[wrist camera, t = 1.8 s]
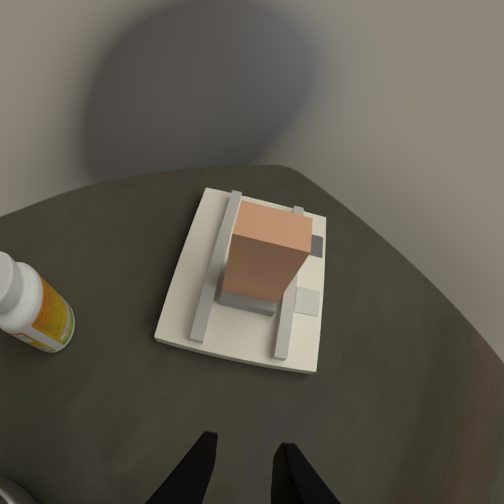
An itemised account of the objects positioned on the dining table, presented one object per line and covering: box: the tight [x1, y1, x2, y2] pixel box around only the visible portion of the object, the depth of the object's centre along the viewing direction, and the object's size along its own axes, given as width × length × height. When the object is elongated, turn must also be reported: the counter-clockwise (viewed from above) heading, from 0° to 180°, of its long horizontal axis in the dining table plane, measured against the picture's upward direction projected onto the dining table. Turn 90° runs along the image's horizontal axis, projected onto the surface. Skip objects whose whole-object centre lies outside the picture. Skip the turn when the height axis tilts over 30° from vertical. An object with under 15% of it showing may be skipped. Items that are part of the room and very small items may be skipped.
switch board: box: [154, 188, 326, 374], centre depth 25 cm, size 16×13×2 cm
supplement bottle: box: [0, 252, 75, 353], centre depth 16 cm, size 5×5×10 cm
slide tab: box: [219, 200, 313, 316], centre depth 20 cm, size 4×4×9 cm
